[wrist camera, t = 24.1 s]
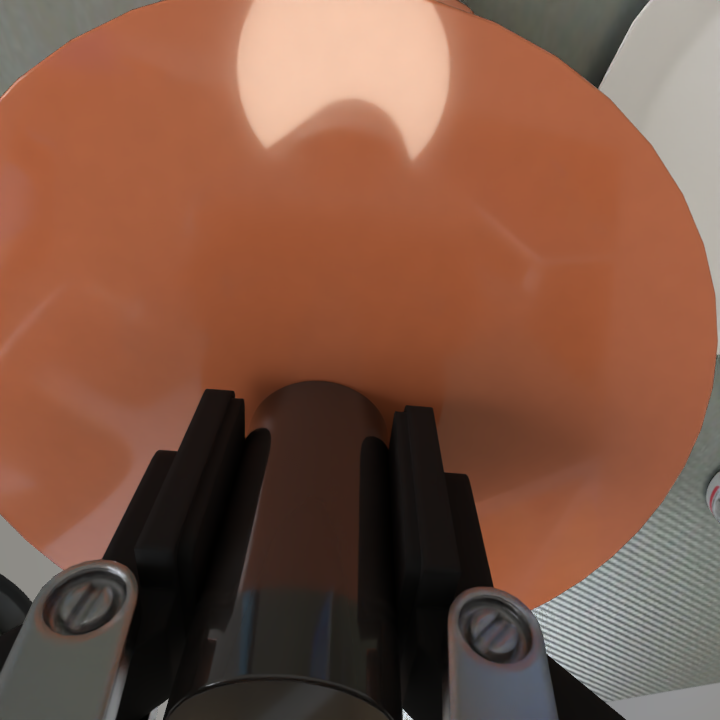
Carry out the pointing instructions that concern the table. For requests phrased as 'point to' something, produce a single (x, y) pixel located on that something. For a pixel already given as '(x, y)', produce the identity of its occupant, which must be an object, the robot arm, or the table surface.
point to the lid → (338, 315)
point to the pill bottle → (714, 496)
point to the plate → (677, 104)
